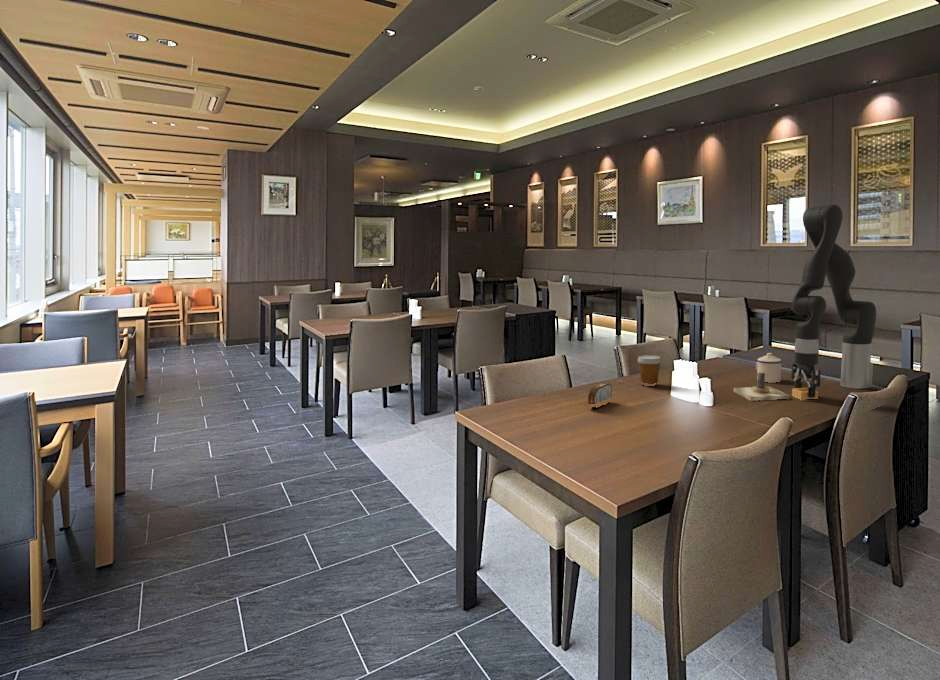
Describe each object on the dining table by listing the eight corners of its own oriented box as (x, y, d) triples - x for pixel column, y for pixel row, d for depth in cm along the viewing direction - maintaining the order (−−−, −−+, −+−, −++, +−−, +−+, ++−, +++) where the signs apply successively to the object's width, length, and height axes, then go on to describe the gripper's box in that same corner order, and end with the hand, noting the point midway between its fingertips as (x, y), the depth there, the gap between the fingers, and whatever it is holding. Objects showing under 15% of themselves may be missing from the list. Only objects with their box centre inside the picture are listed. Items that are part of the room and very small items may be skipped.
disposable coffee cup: (664, 387, 231) (664, 358, 229) (640, 388, 231) (640, 359, 229) (657, 382, 240) (657, 354, 238) (634, 383, 240) (634, 355, 239)
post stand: (769, 390, 219) (770, 368, 217) (789, 399, 205) (790, 376, 204) (733, 391, 219) (734, 370, 218) (750, 400, 205) (751, 378, 204)
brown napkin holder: (605, 401, 214) (605, 379, 213) (613, 402, 212) (613, 380, 211) (587, 410, 203) (586, 387, 201) (595, 411, 201) (594, 388, 199)
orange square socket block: (808, 395, 208) (808, 387, 208) (817, 399, 203) (818, 391, 202) (791, 396, 209) (792, 388, 208) (800, 400, 203) (801, 392, 202)
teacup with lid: (786, 382, 230) (787, 354, 229) (767, 384, 229) (767, 355, 227) (765, 376, 242) (766, 349, 240) (746, 378, 240) (747, 351, 238)
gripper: (829, 353, 196) (826, 399, 198) (805, 347, 210) (804, 389, 212) (807, 354, 196) (805, 399, 198) (785, 348, 210) (783, 390, 213)
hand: (804, 394), depth 205 cm, fingers open, 8 cm apart
